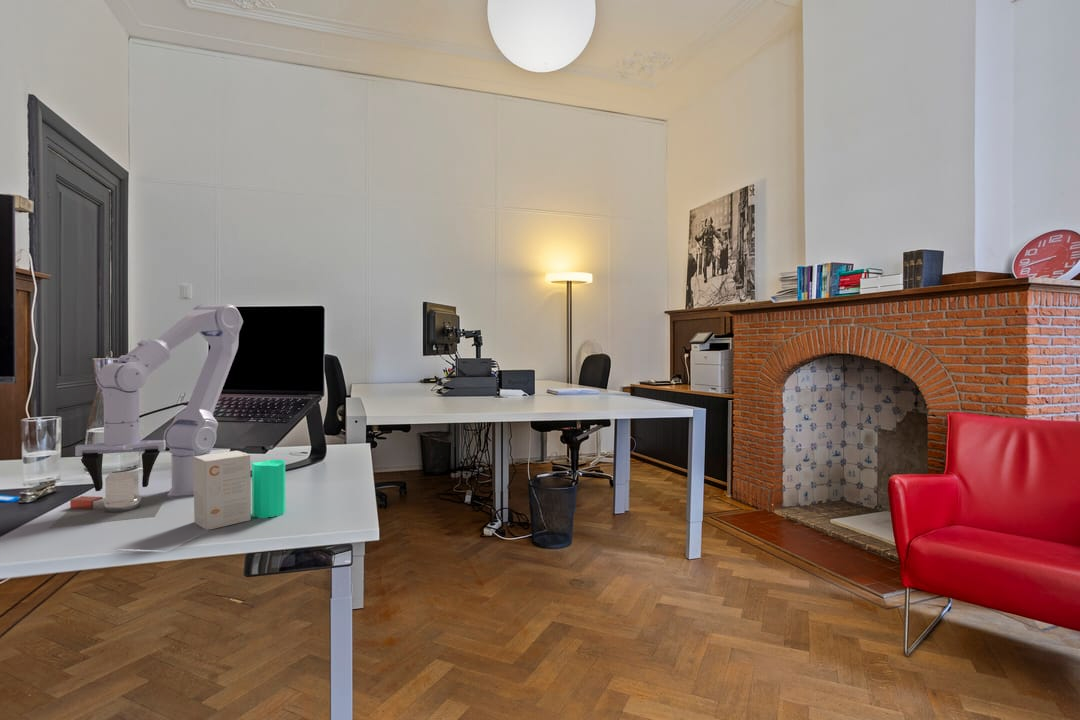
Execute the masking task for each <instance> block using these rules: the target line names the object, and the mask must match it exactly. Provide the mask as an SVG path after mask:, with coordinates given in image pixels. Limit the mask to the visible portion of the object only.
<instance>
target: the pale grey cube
mask: <svg viewBox="0 0 1080 720" xmlns="http://www.w3.org/2000/svg"><path fill="white" fill-rule="evenodd" d="M104 479H105V482H104V483H105V485H104V486H105V496H104V498H106V503H112V502H123V501H133V500H135V499H136V497H137V496H138V495H139V493H140V491H139V490H140V489H139V488H140V487H139V485H140V484H139V471H138V470H134V471H133V470H132V471H121V472H110V473H109V474H108V475H107V476H106V477H104Z"/></svg>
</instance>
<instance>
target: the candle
mask: <svg viewBox="0 0 1080 720" xmlns="http://www.w3.org/2000/svg"><path fill="white" fill-rule="evenodd" d="M251 470H252V471H251V515H253V516H254V517H259V518H258V519H260V518H262V519H269V518H268V517H273V518H275V517H274V516H278V517H280V516H282V515H281V514H283V515H284V514H285V513H286V461H284V459H267V460H263V461H257V462H252V463H251ZM284 512H285V513H284ZM279 515H280V516H279ZM253 516H252V517H253ZM254 517H253V518H254Z"/></svg>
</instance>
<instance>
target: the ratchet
mask: <svg viewBox="0 0 1080 720" xmlns="http://www.w3.org/2000/svg"><path fill="white" fill-rule="evenodd" d="M141 498H142V497H141V495H138V496H137V497H136V499H135V500H133V501H123V502H112V503H106V497H104V498H103V496H88V495H87V496H83V495H82V496H78V497H75V498H72V499H70V501H69V502H70V504H69V505H70V509H104V512H107V513H119V512H126V511H131V510H135V509H138V508H140V507H141Z"/></svg>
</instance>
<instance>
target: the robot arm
mask: <svg viewBox="0 0 1080 720" xmlns="http://www.w3.org/2000/svg"><path fill="white" fill-rule="evenodd" d="M243 324H244V320H243V317H242V315H241V313H240V311H239V310H238V308H237V307H236V306H235V305H233V304H229V303H228V304H223V305H222V304H219V305H218V304H215V305H214V304H213V305H212V304H209V305H208V304H199V305H195V306H194V307H193V308H192V309H191V310H188V311H186V313H185V316H183V317H182V318H181V319H180V320H179V321H178V322H176V323H174V325H173V326H171V327H170V328H169V329H168V330H166V332H164V333H163V334H162V335H161V336H160V337H159V338H158V339H155V338H154V339H153V338H152V339H151V338H148V339H145V340H144V339H141V340H140V341H138V342H137V346H136V347H135V348H134V349H132V350H131V351H129V352H128V353H126V354H125V355H124V354H122V355H120V356H119V357H118V360H117V362H110V363H107V364H105V365H103V367H102V368H101V369H100V370H99V373H98V375H97V376H95V382H96V384H97V385H98V387H99V388H100V389H101V391H102V397H103V442H99V443H98V442H97V443H96V442H95V443H87V444H86V443H85V444H78V445H75V449H74V450H75V451H74V453H75V454H74V455H75V456H74V457H81V456H82V458H81V464H82V465H83V466H84V468H85V469H86V470H87V472H88V473H89V476H90V478H91V480H92V483H93V486H94V490H95V492H100V491H102V489H103V486H104V485H103V484H104V483H103V482H104V481H103V461H104V460H103V459H104V455H106V454H122V453H137V452H140V453H141V452H143V453H141V462H142V463H141V464H142V480H141V481H142V482H141V484H142V488H146V487H148V486H149V481H150V477H151V472H152V470H153V468H154V464H155V462H156V461H157V458H158V456H159V455H160V453H161V452H162V451H165V450H166V448H168V449H169V454H171V455H170V457H171V487H170V490H169V491H168V493H167V495H166V496H167V498H170V497H179V496H180V497H181V496H191V495H194V467H193V457H194V456H202V455H209V454H216V453H220V452H219V451H212V448H214V446H215V445H216V441H217V430H218V426H219V423H218V421H217V419H216V418H215V417H214V415H213V414H214V412H215V409H216V406H217V405H218V404H217V403H218V401H219V399H220V396H221V393H222V391H223V387H224V386H225V383H226V380H227V378H228V375H229V372H230V370H231V367H232V364H233V362H234V360H235V356H236V354H237V352H238V349H239V343H240V342H239V339H240V338H239V337H240V331H241V329H242V326H243ZM197 333H198V334H199V335H200V336H201V337H202V339H203V338H204V340H205V341H206V342H207V343H208V345H209V346H210V349H209V351H208V353H207V356H206V358H205V361H204V363H203V366H202V368H201V370H200V373H199V376H198V378H197V379H196V380H197V381H196V383H195V386H194V388H193V390H192V393H191V395H190V398H189V400H188V403H187V406H186V408H184V410H182V411H181V412H179V413H178V414H177V415H175V416H174V418H173V421H172V423H170V425H168V426H167V427H166V428H165V430H164V432H163V436H162V438H163V440H162V439H159V440H154V439H153V440H149V439H148V440H147V439H146V440H140V389H142V388H143V387H144V386H145V384H146V383H147V379H148V377H149V376H150V375H151V374H152V373H153V372H154V371H156V370H157V369H159V368H160V367H161V366H162V365H164V363H166V362H167V361H169V360H170V358H171V351H172V350H174V349H175V348H177V347H178V346H180V345H181V344H183V343H184V342H185V341H188V339H190V338H192V337H194V335H196V334H197Z"/></svg>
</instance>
